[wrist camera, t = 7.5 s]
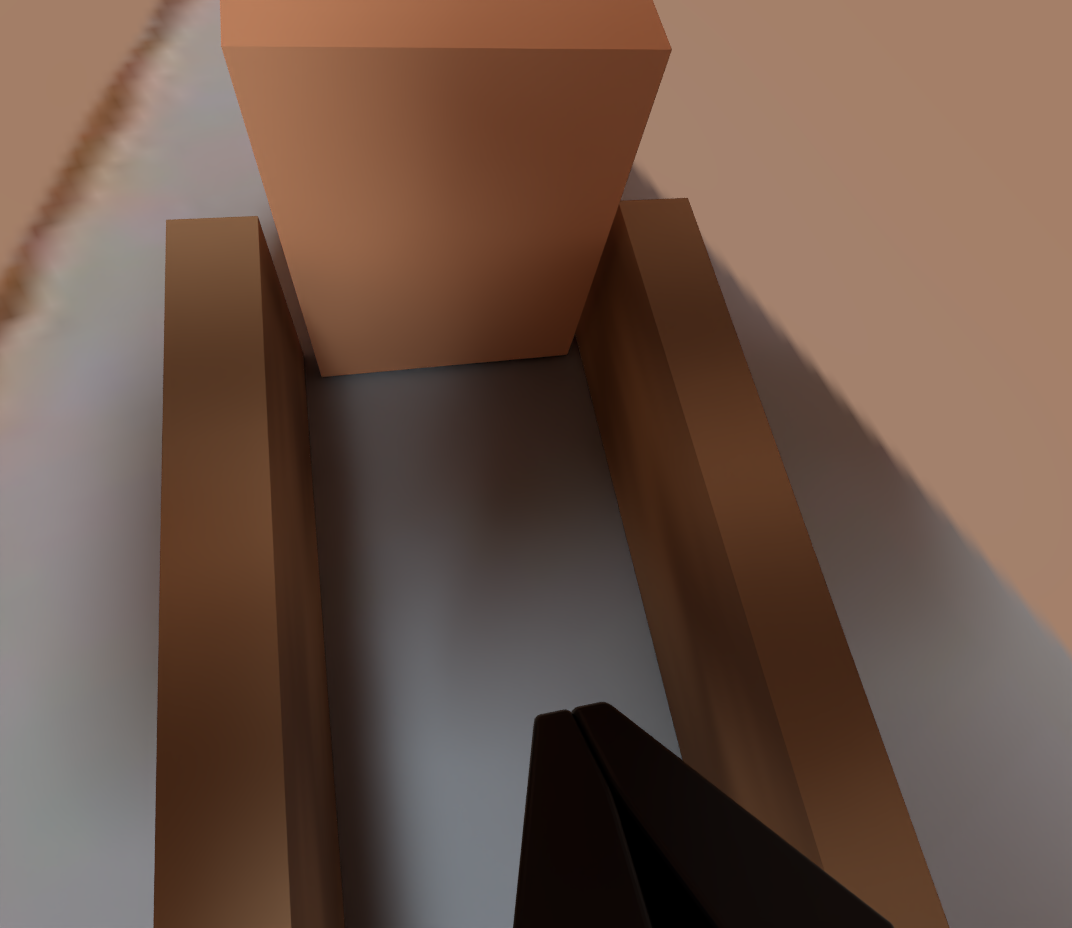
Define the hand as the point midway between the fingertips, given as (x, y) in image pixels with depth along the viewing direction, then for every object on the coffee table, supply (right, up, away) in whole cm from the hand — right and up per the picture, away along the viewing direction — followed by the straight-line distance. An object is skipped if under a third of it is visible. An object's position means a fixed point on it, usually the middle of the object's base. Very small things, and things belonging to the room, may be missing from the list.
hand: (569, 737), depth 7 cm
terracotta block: (-3, +8, +10) cm, 13 cm away
